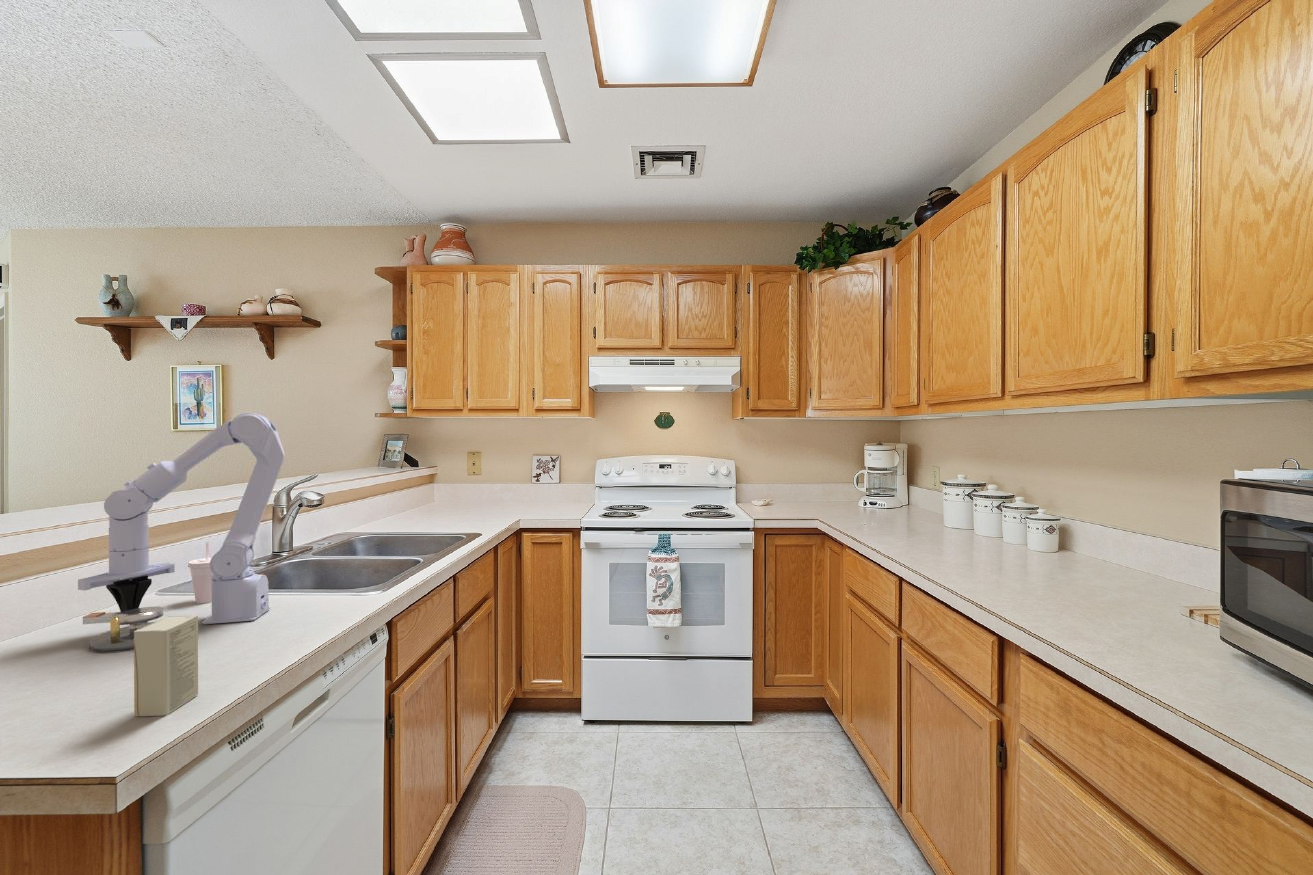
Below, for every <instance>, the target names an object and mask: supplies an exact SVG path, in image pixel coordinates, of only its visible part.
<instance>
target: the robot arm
mask: <svg viewBox="0 0 1313 875" xmlns="http://www.w3.org/2000/svg"><path fill="white" fill-rule="evenodd" d="M241 443H242V444H243V445H244V446H246V447H247V448H248V449H249V451H250V452H251V453H252V455H253V456H254V457H255V459H256V462H255V465H254V466H253V470H252V473H251V475H250V477H249V481H248V483H247V485H246V488H245V491H244V493H243V495H242V499H241V501H240V504H239V506H238V509H237V510H236V511H237V512H236V513H235V516H234V519H233V522H232V524H231V526H230V529H229V531H228V534H227V535H226V537H225V539H224V541H223V543H222V546H221V547H220V549H219V550H218V551H216V553H214V554H213V556H212V557H210V558H211V560H210V570H211V572H212V573H213V574H214V575H212V576H211V592H212V602H211V616H210V617H208V618H207V619H205V620H203V621H201V624H202V625H210V624H222V623H223V624H224V623H225V624H226V623H237V622H249V621H251V622H252V621H255V620H257V619H258V618H260V617H261V616H262V615H264V614H265V613H266V612H268V611H269V610H270V609H271V607H270V605H269V603H270V602H269V598H270V597H269V596H270V595H269V579H268V577H267V575H265V574H257V573H255V569H253V568H252V567H251V566H250V564H251V563H252V562H253V560H254V556H255V552H254V551H255V550H254V543H255V540H256V538H257V537H256V536H257V533H258V530H259V527H260V525H261V522H262V519H263V518H264V514H265V511H266V509H267V507H268V506H267V505H268V503H269V501H270V498H271V496H272V493H273V491H274V488H275V484H277V480H278V478H279V474H280V472H281V469H282V467H283V465H284V461H285V459H286V452H285V450H284V448H283V445H282V441H281V439H280V435H279V433H278V429H277V427H276V426H275V424H273V422H271V420H270V419H269V418H268V417H267V416H266V415H263V414H259V413H254V412H243V413H240V414H238V415H236V416H235V417H234V418H233V419H232V420H228V421H226V422H225V423H223V424H221V425H219V426H218V427H216V428H215V429H213V430H212V431H210V432H209V433H208V434H206V435H205V436H204V437H203V438H201V439H200V440H198V441H197V442H196V443H195V444H194V445H192V446H191V447H190V448H188V449H186V450H185V451H184V452H183V453H182V454H180V455H179V456H178V457H177V458H175V459H173V460H172V461H171V460H162V461H159V462H158V463H155V462H153V463H151V464H149V465H148V466H146V468H147V469H148V470H147V471H145V472H144V473H143V474H141V475H139V476H138V477H137V478H135V479H134V480H132V481H131V480H129V481H127V482H125V483H124V484H123V485H124V487H125V488H124V489H118V490H114V491H112V492H111V494H110V495H108V497H106V498H105V500H104V502H103V509H104V512H105V513H106V514H107V515H108V516H109V517H108V518H109V519H108V520H109V521H108V522H109V525H108V526H109V527H108V572H104V573H101V574H96V575H92V576H90V577H84V578H80V579H77V590H78V591H89V590H92V589H95V588H100V587H104V586H105V588H106V589H107V591H109V593H110V594H111V595H112V597H113V598H114V600H115V601H116V604H117V605H118V608H119V612H124V611H127V610H132V609H137V608H140V607H141V606H140V605H141V603H142V600H143V598H144V596H145V594H146V592H147V591H148V590H149V588H150V587H151V585H152V583H153V581H152V578H151V577H154V576H158V575H159V576H160V575H164V574H173V573H175V570H176V569H175V567H176V566H175V562H166V563H159V564H151V565H149V564H150V563H149V561H150V559H149V558H150V555H149V552H150V551H149V548H150V547H149V546H150V545H149V544H150V543H149V530H150V529H149V520H148V519H149V511H150V510H151V509H152V508H153V505H154V503H158V502H159V501H161V500H162V499H163V498H165V497H166V496H168V495H169V494H170V493H172V492H174V490H176V489H177V488H178V487H180V486H181V485H183V484H184V483H186V481H187V478H188V472H189V471H190V470H191V469H193V468H194V467H196V466H197V465H199V464H200V463H201V462H203V461H205V460H206V459H207V458H209V457H211V456H213V454H215V453H216V452H218V451H219V450H221V449H222V448H224V447H228V446H233V445H237V444H241Z"/></svg>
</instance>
